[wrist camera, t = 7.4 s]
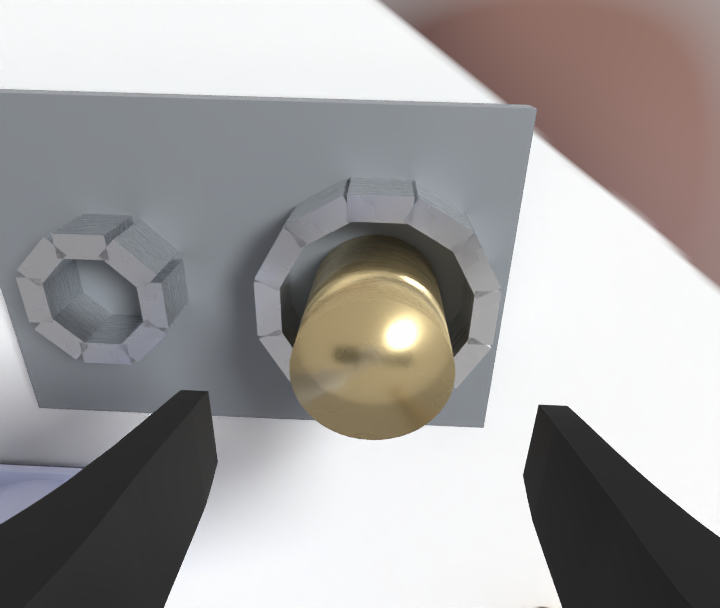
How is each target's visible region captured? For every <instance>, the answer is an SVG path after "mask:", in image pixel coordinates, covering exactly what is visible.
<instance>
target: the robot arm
mask: <svg viewBox="0 0 720 608" xmlns="http://www.w3.org/2000/svg"><path fill="white" fill-rule="evenodd" d="M217 462H218V460H217V453H216V445H215V438H214V430H213V422H212V415H211V407H210V400H209V392H208V391H196V390H180V391H179V392H178V393H176V394H175V395H174V396H173V397H171V398H170V399H169V400H168V401H167V402H166V403H164V404H163V405H162V406H161V407H160V408H158V409H157V410H156V411H155V412H154V413H153V414H151V415H150V416H149V417H148V418H147V419H146V420H144V421H143V422H142V423H141V424H140V425H138V426H137V427H136V428H135V429H133V430H132V431H131V432H130V433H129V434H127V435H126V436H125V437H124V438H122V439H121V440H120V441H119V442H118V443H116V444H115V445H114V446H113V447H111V448H110V449H109V450H108V451H106V452H105V453H104V454H102V455H101V456H100V457H98V458H97V459H96V460H94V461H93V462H92V463H90V464H89V465H88V466H86V467H85V468H66V467H45V466H23V465H2V464H0V608H164V606H165V603H166V601H167V598H168V596H169V594H170V591H171V589H172V586H173V584H174V581H175V579H176V577H177V574H178V572H179V569H180V567H181V565H182V562H183V560H184V557H185V555H186V553H187V550H188V548H189V545H190V543H191V541H192V538H193V536H194V533H195V531H196V528H197V526H198V523H199V521H200V519H201V516H202V514H203V511H204V508H205V506H206V503H207V499H208V496H209V492H210V489H211V485H212V482H213V478H214V474H215V470H216V466H217ZM523 478H524V483H525V488H526V493H527V498H528V503H529V507H530V512H531V516H532V520H533V523H534V527H535V530H536V533H537V536H538V538H539V541H540V544H541V547H542V550H543V553H544V556H545V559H546V562H547V565H548V568H549V570H550V573H551V576H552V579H553V582H554V585H555V588H556V591H557V593H558V596H559V599H560V602H561V605H562V608H720V537H719V536H717V535H716V534H714V533H713V532H712V531H710V530H709V529H708V528H706V527H705V526H704V525H702V524H701V523H700V522H698V521H697V520H696V519H694V518H693V517H692V516H691V515H689V514H688V513H687V512H686V511H684V510H683V509H682V508H681V507H680V506H678V505H677V504H676V503H675V502H673V501H672V500H671V499H670V498H669V497H667V496H666V495H665V494H664V493H662V492H661V491H660V490H659V489H658V488H657V487H655V486H654V485H653V484H652V483H651V482H650V481H648V480H647V479H646V478H645V477H644V476H643V475H642V474H640V473H639V472H638V471H637V470H636V469H635V468H634V467H633V466H631V465H630V464H629V463H628V462H627V461H626V460H625V459H624V458H623V457H622V456H621V455H619V454H618V453H617V452H616V451H615V450H614V449H613V448H612V447H611V446H610V445H609V444H608V443H607V442H605V441H604V440H603V439H602V438H601V437H600V436H599V435H598V434H597V433H596V432H595V431H594V430H593V429H592V428H591V427H590V426H589V425H588V424H586V423H585V422H584V421H583V420H582V419H581V418H580V417H579V416H578V415H577V414H576V413H575V412H574V411H572V410H571V409H570V408H569V407H568V406H556V405H539V406H538V411H537V415H536V419H535V424H534V428H533V433H532V437H531V442H530V446H529V451H528V455H527V460H526V464H525V469H524V473H523Z"/></svg>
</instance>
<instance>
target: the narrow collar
mask: <svg viewBox="0 0 720 608" xmlns="http://www.w3.org/2000/svg"><path fill="white" fill-rule="evenodd" d="M178 252H179V251H178V250H176V249H175V248H174V247H173V246H172V245H171V244H170V243H168V242H167V241H166V240H165V239H164V238H163V237H161V236H160V235H159V234H158V233H157V232H156V231H155V230H153V229H152V228H151V227H150V226H149V225H148V224H146V223H145V222H144V221H143V220H142V219H140V220H138V221H137V222H136V223H134V221H133V215H111V214H83V215H82V216H80V217H76V218H74V219H73V220H71V221H69V222H68V223H66V224H64V225H63V226H61V227H59V228H57V229H56V230H54V231H52V232H51V233H49V234H47V235H46V236H44V237H43V238H42V239H41V240H40V242H39V243H38V244H37V245H36V247H35V248H34V249H33V250H32V252H31V253H30V254H29V255H28V257H27V258H26V259H25V260H24V262H23V263H22V264H21V265H20V267H19V268H18V269H17V271H19V272H20V273H21V274H20V275H19V276H17V277H16V280H17V284H18V287H19V290H20V294H21V297H22V300H23V303H24V307H25V310H26V313H27V317H28V320H29V322H36V323H40V324H39V325H38V326H37V327H36V328H35V330H36V331H37V332H39V333H40V334H42V335H43V336H44V337H46V338H47V339H48V340H50V341H51V342H53V343H54V344H55V345H57V346H58V347H59V348H61V349H62V350H64V351H65V352H66V353H68V354H69V355H70V356H72V357H73V358H74V359H77V358H78V357H79V356H80V355H81V354H82V355H83V359H84V363H104V364H128V365H131V364H132V363H133V361H134V360H136V361H137V362H139V361H140V360H141V359H142V358H143V357H144V356H145V355H146V354H147V353H148V352H149V351H150V350H151V349H152V348H153V347H154V346H155V345H156V344H157V343H158V342H159V341H160V340H161V339H163V338H164V337H165V336H166V335H167V333H168V332H169V330H170V329H171V328H172V326H173V325H174V324H175V322H176V321H177V319H178V318H179V317H180V315H181V314H182V313H183V311H184V310H185V308H186V307H187V306H185V305H186V304H187V302H188V301H189V298H188V290H187V283H186V276H185V269H184V262H183V259H174V258H173V257H174V256H175V255H176V254H177V253H178ZM76 259H84V260H104V261H105V262H106V263H107V264H109V265H110V266H111V267H112V268H114V269H115V270H116V271H117V272H118V273H120V274H121V275H122V276H123V277H125V278H126V279H127V280H128V281H130V282H131V283H132V284H133V285H134V286H136V287H137V292H138V297H139V302H140V307H141V313H142V315H118V314H111V313H110V312H109V311H107V310H106V309H105V308H104V307H102V306H101V305H100V304H98V303H97V302H96V301H95V300H93V299H92V298H91V297H89V296H88V295H87V294H86V293H84V292H83V288H82V284H81V280H80V276H79V272H78V268H77V263H76Z"/></svg>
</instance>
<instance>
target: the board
mask: <svg viewBox="0 0 720 608" xmlns="http://www.w3.org/2000/svg"><path fill="white" fill-rule="evenodd" d="M536 112H537V109H536V108H534V107H532V106H530V105H515V104H514V105H513V104H483V103H449V102H415V101H382V100H348V99H314V98H281V97H247V96H213V95H180V94H146V93H113V92H79V91H45V90H12V89H0V286H1V289H2V293H3V296H4V299H5V302H6V305H7V308H8V311H9V314H10V318H11V321H12V324H13V327H14V330H15V333H16V336H17V339H18V343H19V346H20V349H21V352H22V355H23V358H24V361H25V365H26V368H27V371H28V374H29V377H30V380H31V383H32V386H33V390H34V393H35V396H36V399H37V402H38V405H39V408H53V409H76V410H98V411H121V412H143V413H154V412H155V411H156V410H157V409H158V408H160V407H161V406H162V405H163V404H164V403H166V402H167V401H168V400H169V399H170V398H171V397H173V396H174V395H175V394H176V393H178V392H179V391H180V390H196V391H208V392H209V400H210V407H211V415H212V416H233V417H255V418H278V419H300V420H315V419H314V418H313V417H311V416H310V415H309V414H308V413H307V412H306V410H305V409H304V408H303V407H302V405H301V404H300V402H299V401H298V399H297V397H296V395H295V393H294V391H293V388H292V385H291V381H289V380H288V378H287V377H286V376H285V374H284V373H283V372H282V370H281V369H280V367H279V366H278V365H277V363H276V362H275V360H274V359H273V358H272V356H271V355H270V354H269V352H268V351H267V349H266V348H265V347H264V345H263V344H262V342H261V341H260V340H259V338H260V336H258V334H257V321H256V307H255V294H254V281H255V279H254V278H255V277H256V275H257V273H258V271H259V269H260V267H261V265H262V263H263V262H264V260H265V258H266V256H267V254H268V252H269V251H270V249H271V247H272V245H273V243H274V242H275V240H276V238H277V236H278V235H279V233H280V231H281V229H282V228H283V226H284V224H285V222H286V221H287V219H288V217H289V215H290V214H291V212H292V210H293V209H295V207H296V206H297V205H299V204H300V203H302V202H304V201H306V200H308V199H310V198H311V197H313V196H315V195H317V194H319V193H321V192H323V191H324V190H326V189H328V188H330V187H332V186H334V185H336V184H337V183H339V182H341V181H343V180H345V179H348V181H349V183H350V179H351V177H355V178H385V179H411V181H412V185H413V183H414V182H415V181H417V182H418V183H420V184H421V185H423V186H424V187H426V188H428V189H429V190H431V191H432V192H434V193H435V194H437V195H439V196H440V197H442V198H443V199H445V200H446V201H448V202H450V203H451V204H453V205H454V206H456V207H457V208H459V209H461V210H462V211H464V213H465V215H467V216H468V219H469V221H470V223H471V225H472V227H473V229H474V231H475V233H476V236H477V238H478V240H479V242H480V244H481V246H482V248H483V251H484V253H485V255H486V257H487V259H488V261H489V263H490V265H491V268H492V270H493V272H494V274H495V276H496V278H497V280H498V283H499V285H500V287H501V288H500V289H501V298H500V305H499V311H498V317H497V323H496V329H495V335H494V341H493V345H490V346H491V349H490V350H489V352H488V353H487V354H486V355H485V356H484V357H483V358H482V360H481V361H480V362H479V363H478V364H477V365H476V367H475V368H474V369H473V370H472V371H471V372H470V373H469V375H468V376H467V377H466V378H465V379H464V380H463V382H462V383H461V384H460V385H459V386H458V387H457V388H454V387H453V391H452V393H451V395H450V397H449V399H448V401H447V403H446V405H445V406H444V407H443V409H442V410H441V411H440V412H439V413H438V415H437V416H436V417H435V418H433V419H432V420H431V421H430V422H429V423H427V424H426V425H435V426H457V427H480V428H483V427H484V421H485V416H486V410H487V404H488V398H489V392H490V386H491V380H492V374H493V368H494V362H495V356H496V350H497V344H498V338H499V332H500V326H501V320H502V314H503V308H504V302H505V296H506V290H507V285H508V279H509V273H510V267H511V261H512V255H513V249H514V243H515V237H516V231H517V225H518V219H519V213H520V207H521V201H522V195H523V189H524V183H525V177H526V171H527V165H528V159H529V154H530V148H531V142H532V136H533V130H534V124H535V118H536ZM83 214H111V215H133V221H134V223H136V222H137V221H138V220H140V219H142V220H143V221H144V222H145V223H146V224H148V225H149V226H150V227H151V228H152V229H153V230H155V231H156V232H157V233H158V234H159V235H160V236H161V237H163V238H164V239H165V240H166V241H167V242H168V243H170V244H171V245H172V246H173V247H174V248H175V249H176V250H178V251H179V252H178V253H177V254H176V255H175V256H174V257H173V258H174V259H183V262H184V269H185V276H186V283H187V290H188V298H189V301H188V302H187V304H186V305H185V306H187V307H186V308H185V310H184V311H183V313H182V314H181V315H180V317H179V318H178V319H177V321H176V322H175V324H174V325H173V326H172V328H171V329H170V330H169V332H168V333H167V335H166V336H165V337H164V338H163V339H161V340H160V341H159V342H158V343H157V344H156V345H155V346H154V347H153V348H152V349H151V350H150V351H149V352H148V353H147V354H146V355H145V356H144V357H143V358H142V359H141V360H140V361H139V362H137V361H136V360H134V361H133V363H132V364H131V365H128V364H104V363H84V359H83V355H82V354H81V355H80V356H79V357H78V358H77V359H74V358H73V357H72V356H70V355H69V354H68V353H66V352H65V351H64V350H62V349H61V348H59V347H58V346H57V345H55V344H54V343H53V342H51V341H50V340H48V339H47V338H46V337H44V336H43V335H42V334H40V333H39V332H37V331H36V330H35V328H36V327H37V326H38V325H39V324H40V323H36V322H29V320H28V317H27V313H26V310H25V307H24V303H23V300H22V297H21V294H20V290H19V287H18V284H17V280H16V277H17V276H19V275H20V274H21V273H20V272H19V271H17V269H18V268H19V267H20V265H21V264H22V263H23V262H24V260H25V259H26V258H27V257H28V255H29V254H30V253H31V252H32V250H33V249H34V248H35V247H36V245H37V244H38V243H39V242H40V240H41V239H42V238H43V237H44V236H46V235H47V234H49V233H51V232H52V231H54V230H56V229H57V228H59V227H61V226H63V225H64V224H66V223H68V222H69V221H71V220H73V219H74V218H76V217H80V216H82V215H83ZM372 234H379V235H388V236H392V237H396V238H399V239H402V240H404V241H406V242H408V243H410V244H411V245H413V246H414V247H416V248H417V249H418V250H419V251H420V252H421V253H423V255H424V256H425V257H426V258H427V259H428V261H429V262H430V264H431V265H432V267H433V269H434V272H435V274H436V277H437V281H438V286H439V290H440V295H441V300H442V305H443V309H444V314H445V319H446V324H447V327H448V326H449V324H450V323H451V322H452V321H453V319H454V318H455V317H456V316H457V314H458V313H459V312H460V309H461V301H462V293H463V285H464V277H465V275H464V273H463V271H462V269H461V267H460V265H459V263H458V261H457V259H456V257H455V255H454V253H453V251H451V250H450V249H448V248H446V247H445V246H443V245H441V244H440V243H438V242H437V241H435V240H433V239H432V238H430V237H428V236H427V235H425V234H423V233H422V232H420V231H419V230H417V229H415V228H414V227H412V226H410V225H409V224H401V223H373V222H350V223H348V224H347V225H345V226H343V227H341V228H339V229H337V230H335V231H333V232H331V233H329V234H327V235H325V236H323V237H321V238H319V239H317V240H316V241H314V242H312V243H310V244H308V245H306V246H304V248H303V249H302V251H301V253H300V254H299V256H298V258H297V260H296V261H295V263H294V265H293V266H292V268H291V270H290V277H291V302H292V306H293V307H294V309H295V310H296V312H297V313H298V315H299V316H300V318H301V319H302V317H303V314H304V311H305V307H306V304H307V301H308V298H309V294H310V291H311V288H312V285H313V281H314V278H315V275H316V272H317V270H318V268H319V266H320V264H321V262H322V261H323V259H324V258H325V257H326V256H327V255H328V254H329V252H330V251H332V250H333V249H334V248H335V247H336V246H338V245H340V244H341V243H343V242H345V241H347V240H349V239H352V238H355V237H358V236H363V235H372ZM76 263H77V268H78V272H79V276H80V280H81V284H82V288H83V292H84V293H86V294H87V295H88V296H89V297H91V298H92V299H93V300H95V301H96V302H97V303H98V304H100V305H101V306H102V307H104V308H105V309H106V310H107V311H109V312H110V313H111V314H118V315H142V313H141V307H140V302H139V297H138V292H137V287H136V286H134V285H133V284H132V283H131V282H130V281H128V280H127V279H126V278H125V277H123V276H122V275H121V274H120V273H118V272H117V271H116V270H115V269H114V268H112V267H111V266H110V265H109V264H107V263H106V262H105V261H104V260H84V259H76Z"/></svg>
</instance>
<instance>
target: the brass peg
mask: <svg viewBox="0 0 720 608" xmlns="http://www.w3.org/2000/svg"><path fill="white" fill-rule="evenodd" d="M289 374H290V381H291V385H292V388H293V391H294V393H295V395H296V397H297V399H298V401H299V402H300V404H301V405H302V407H303V408H304V409H305V410H306V412H307V413H308V414H309V415H310V416H311V417H313V418H314V419H315V420H316V421H317V422H319V423H320V424H322V425H323V426H325V427H327V428H328V429H330V430H332V431H334V432H337V433H339V434H342V435H345V436H349V437H353V438H358V439H366V440H382V439H391V438H395V437H400V436H403V435H406V434H409V433H411V432H413V431H415V430H417V429H419V428H421V427H423V426H424V425H426V424H427V423H429V422H430V421H431V420H432V419H433V418H435V417H436V416H437V415H438V413H439V412H440V411H441V410H442V409H443V407H444V406H445V405H446V403H447V401H448V399H449V397H450V395H451V393H452V390H453V387H454V381H455V363H454V357H453V352H452V347H451V343H450V338H449V333H448V328H447V324H446V319H445V314H444V309H443V305H442V300H441V295H440V290H439V286H438V281H437V277H436V274H435V272H434V269H433V267H432V265H431V264H430V262H429V261H428V259H427V258H426V257H425V256H424V255H423V253H421V252H420V251H419V250H418V249H417V248H416V247H414V246H413V245H411V244H410V243H408V242H406V241H404V240H402V239H399V238H396V237H392V236H388V235H379V234H372V235H363V236H358V237H355V238H352V239H349V240H347V241H345V242H343V243H341V244H340V245H338V246H336V247H335V248H334V249H333V250H332V251H330V252H329V254H328V255H327V256H326V257H325V258H324V259H323V261H322V262H321V264H320V266H319V268H318V270H317V272H316V275H315V278H314V281H313V285H312V288H311V291H310V294H309V298H308V301H307V304H306V307H305V311H304V314H303V317H302V321H301V324H300V327H299V330H298V334H297V337H296V340H295V343H294V347H293V350H292V353H291V358H290V364H289Z"/></svg>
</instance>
